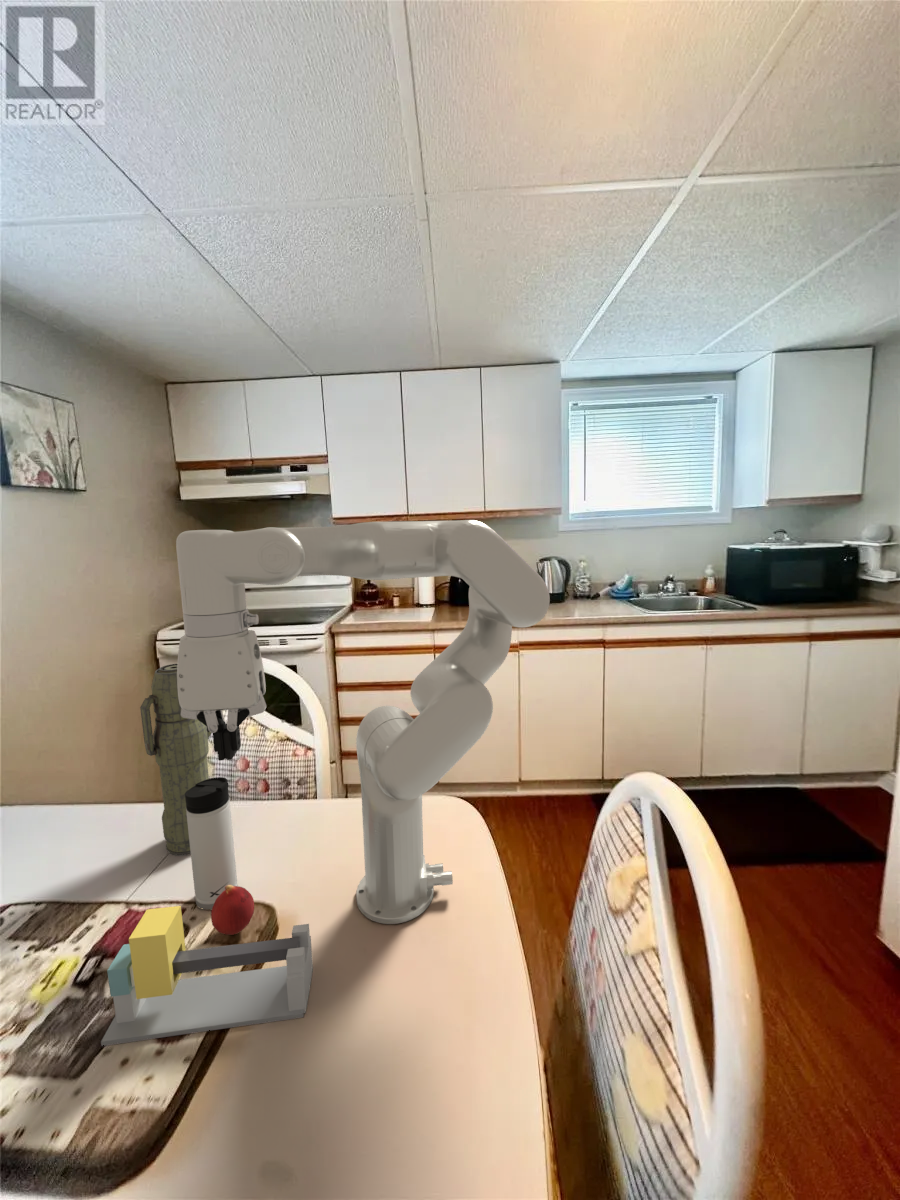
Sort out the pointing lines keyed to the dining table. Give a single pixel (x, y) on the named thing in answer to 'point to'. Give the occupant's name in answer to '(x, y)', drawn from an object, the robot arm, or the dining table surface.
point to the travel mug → (210, 839)
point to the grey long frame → (214, 990)
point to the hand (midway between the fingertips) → (228, 755)
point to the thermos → (174, 754)
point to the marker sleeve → (156, 951)
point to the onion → (232, 910)
